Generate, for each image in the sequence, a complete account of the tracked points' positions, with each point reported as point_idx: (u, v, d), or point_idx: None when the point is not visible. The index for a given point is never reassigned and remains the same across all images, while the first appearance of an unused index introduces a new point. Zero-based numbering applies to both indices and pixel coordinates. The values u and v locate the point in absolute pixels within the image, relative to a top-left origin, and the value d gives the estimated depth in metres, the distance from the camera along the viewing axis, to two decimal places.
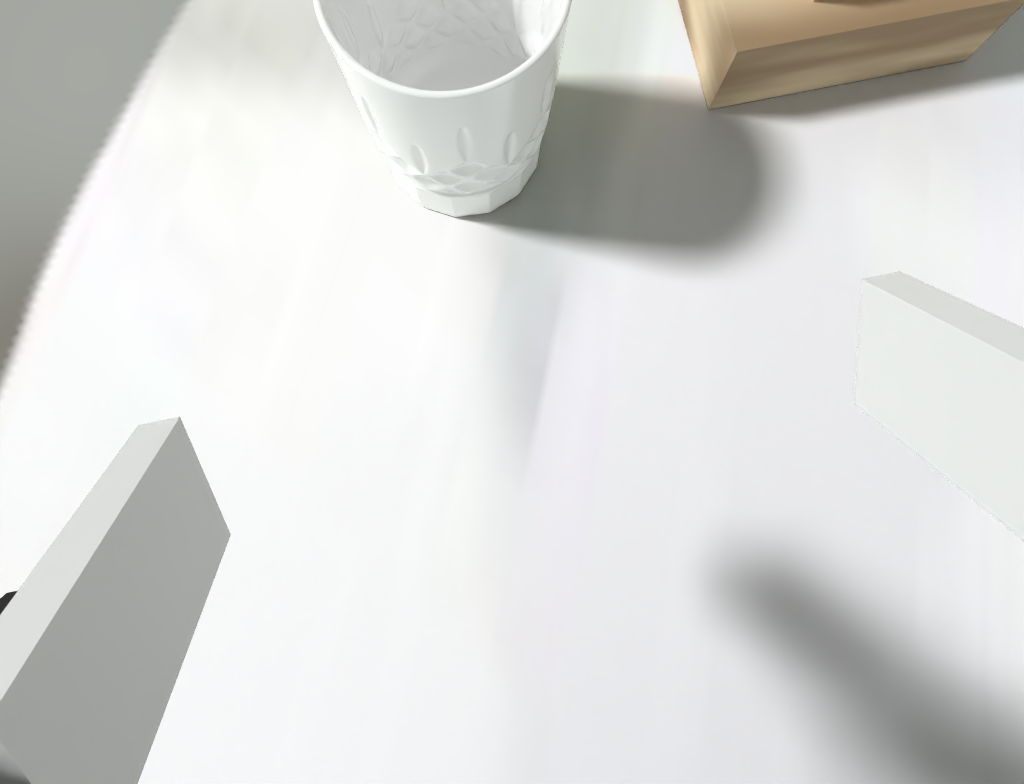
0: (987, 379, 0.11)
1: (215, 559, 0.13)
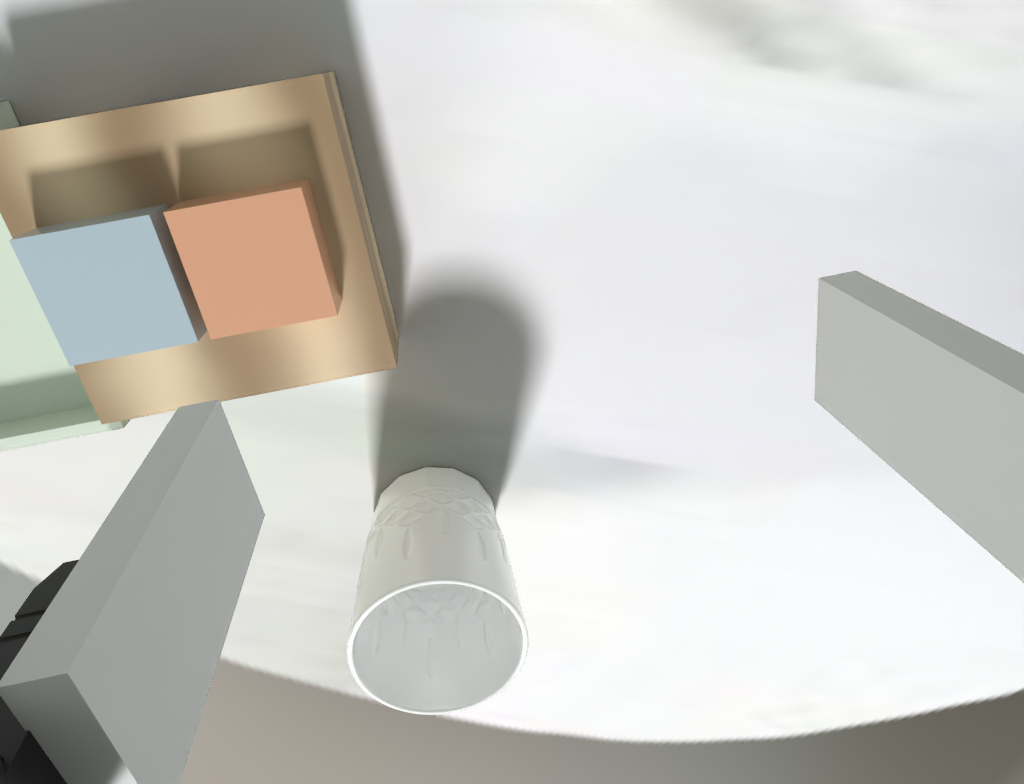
0: (929, 374, 0.11)
1: (252, 537, 0.14)
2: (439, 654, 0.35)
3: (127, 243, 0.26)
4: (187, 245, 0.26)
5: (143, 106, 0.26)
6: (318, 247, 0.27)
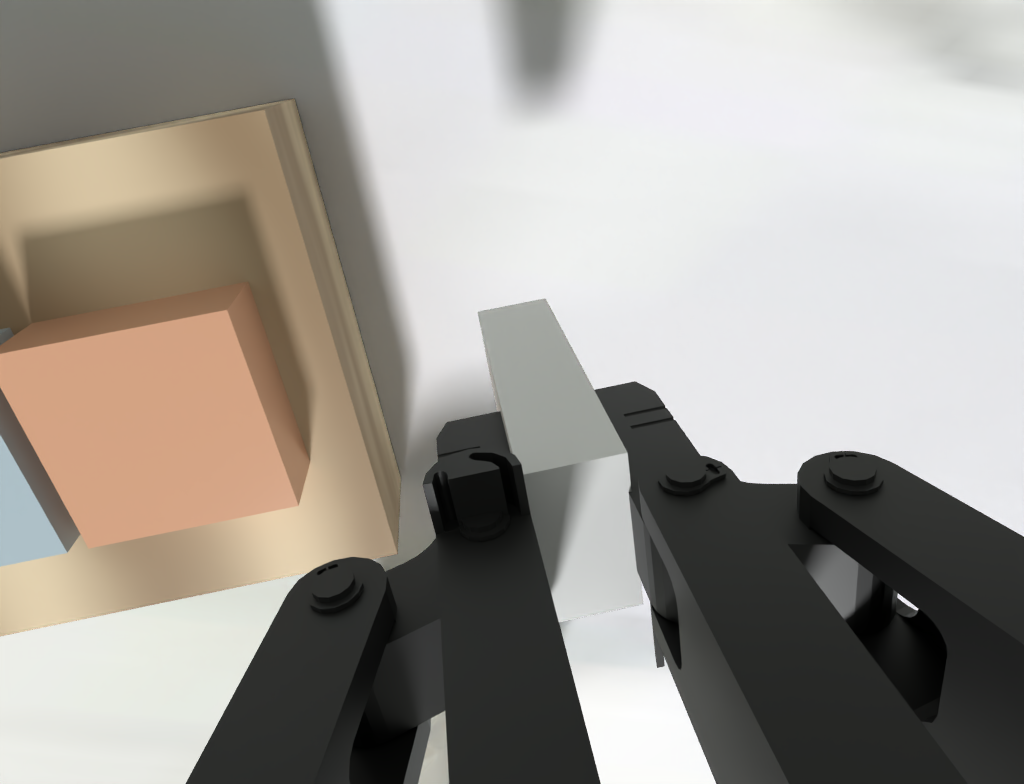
0: None
1: None
2: None
3: None
4: (34, 408, 0.15)
5: None
6: (262, 403, 0.16)
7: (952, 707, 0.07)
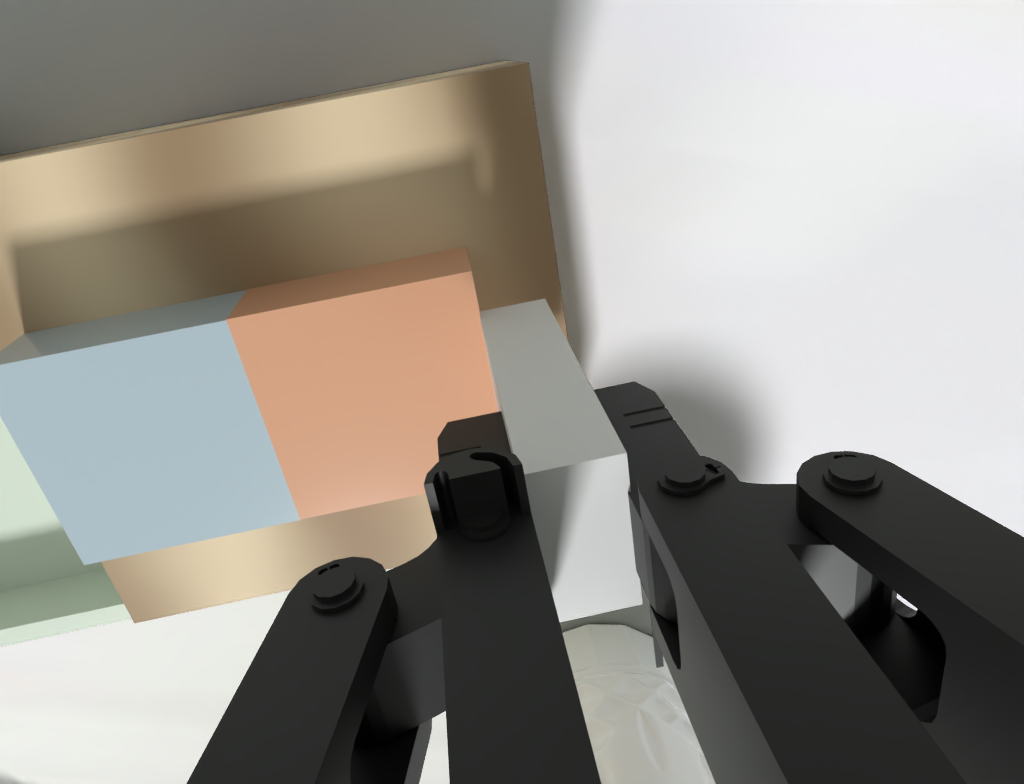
0: None
1: None
2: None
3: (186, 369, 0.14)
4: (268, 372, 0.15)
5: (213, 124, 0.14)
6: None
7: (951, 707, 0.07)
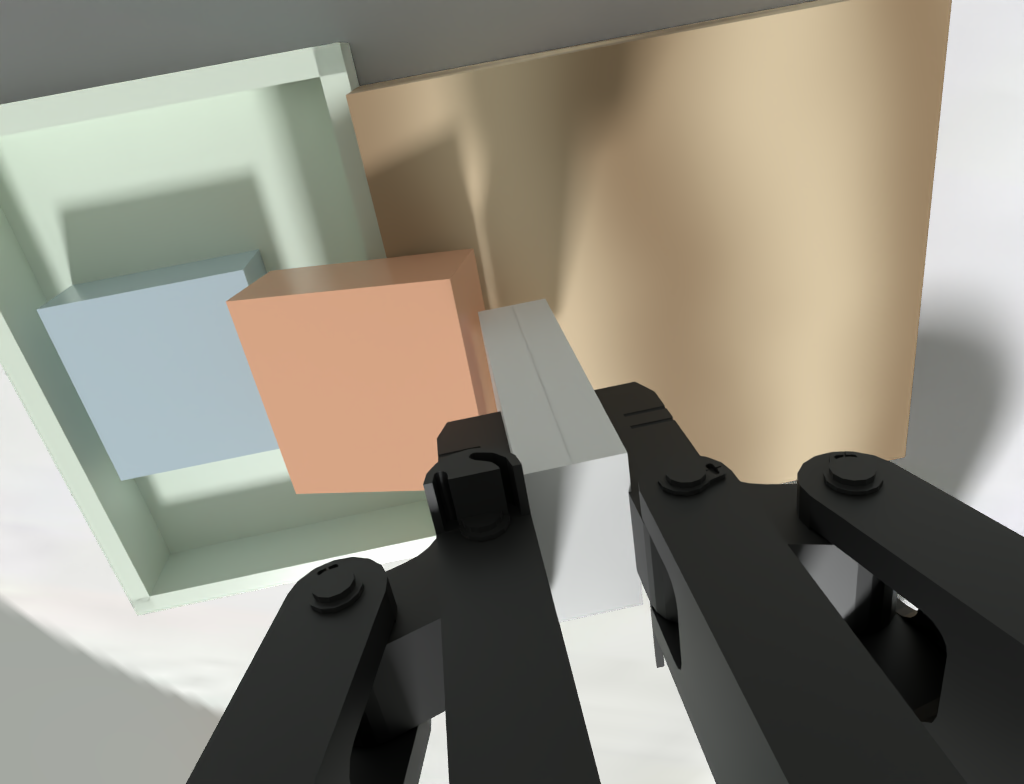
0: None
1: None
2: None
3: None
4: (263, 355, 0.15)
5: (650, 39, 0.15)
6: (472, 379, 0.15)
7: (951, 706, 0.07)
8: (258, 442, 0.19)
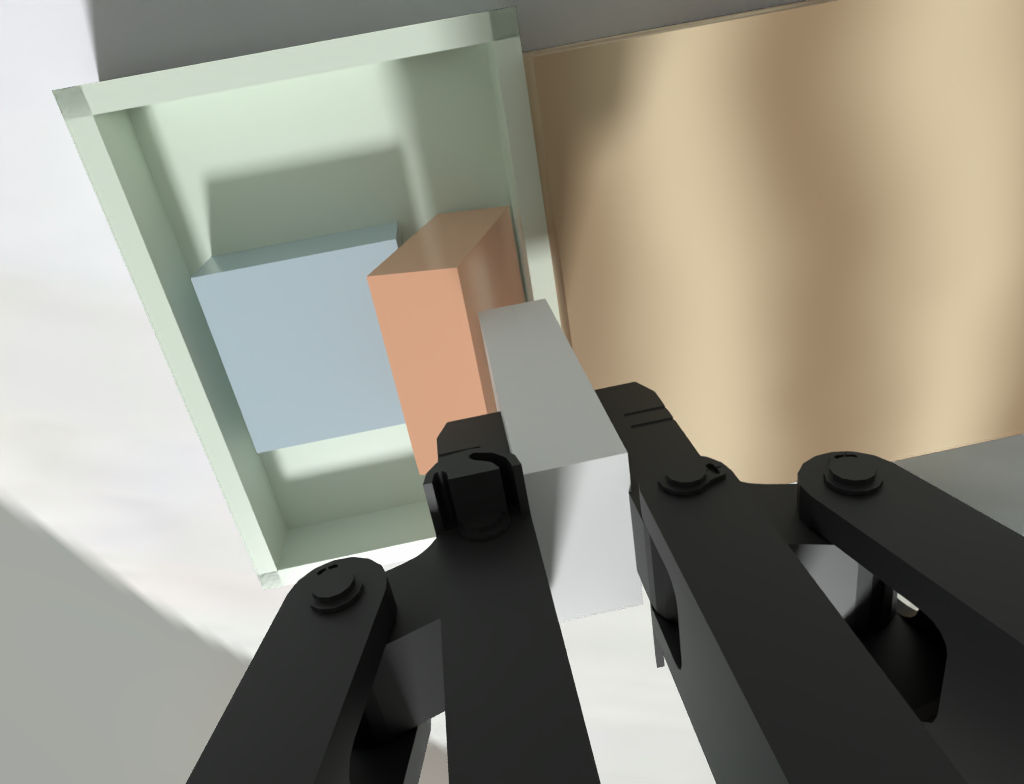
0: None
1: None
2: None
3: None
4: None
5: (834, 3, 0.15)
6: (396, 373, 0.16)
7: (952, 707, 0.07)
8: (395, 415, 0.19)
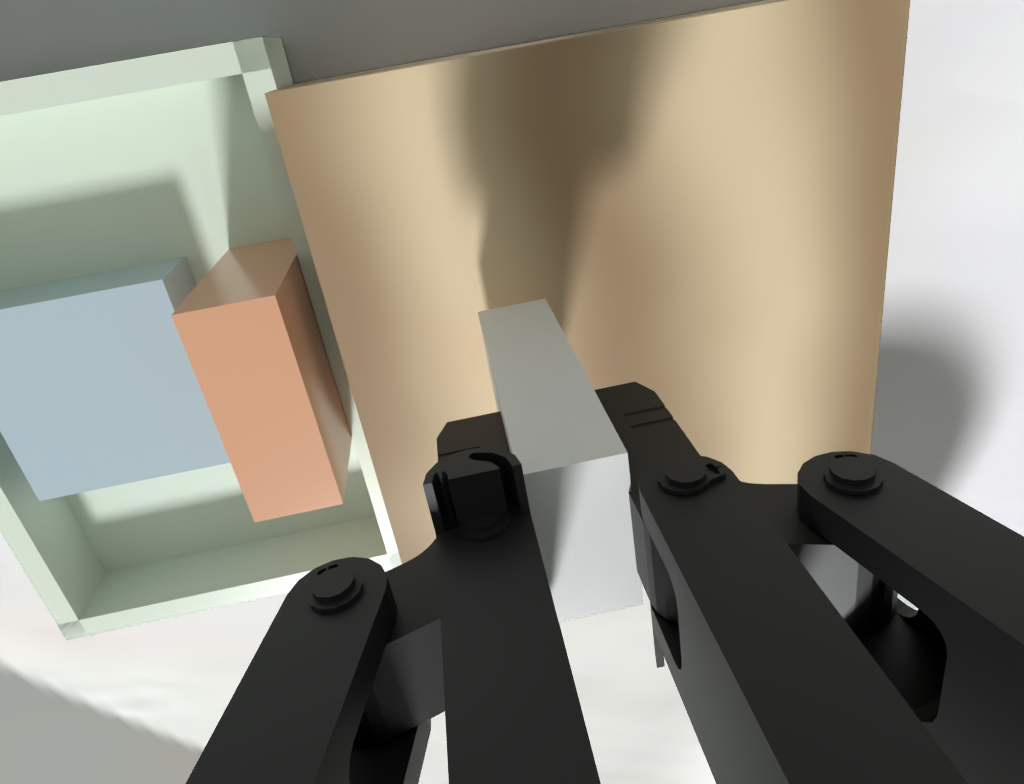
0: None
1: None
2: None
3: None
4: None
5: (592, 37, 0.14)
6: (217, 416, 0.15)
7: (951, 706, 0.07)
8: (186, 460, 0.18)
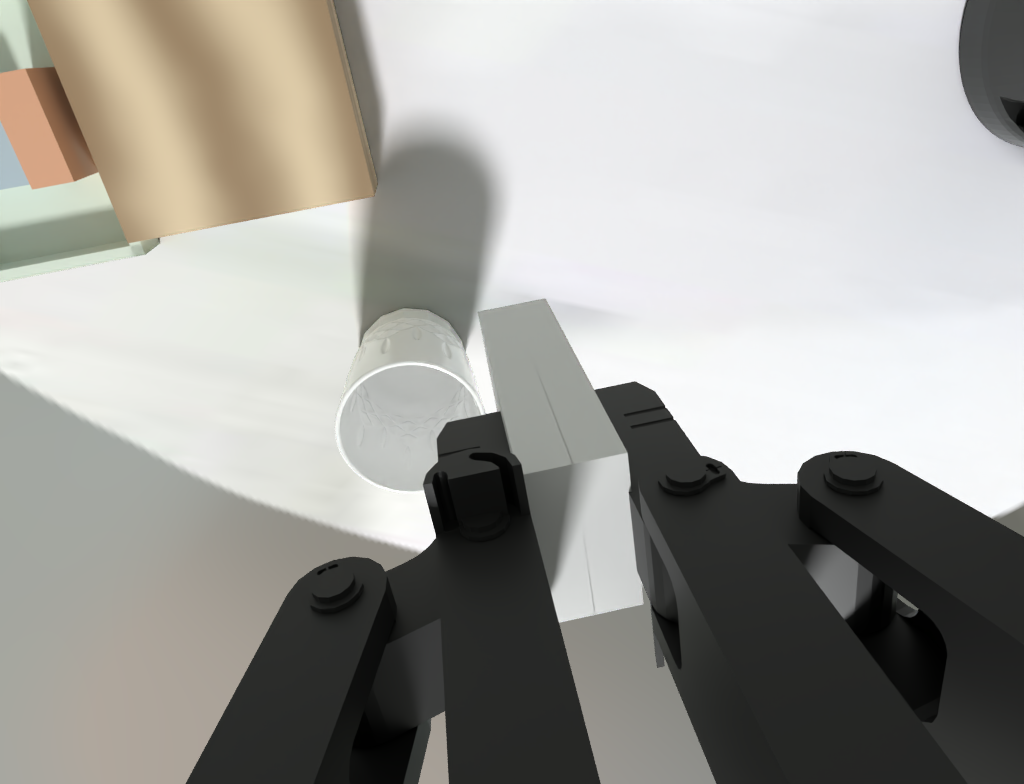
0: None
1: None
2: (415, 455, 0.41)
3: None
4: None
5: None
6: (6, 129, 0.33)
7: (952, 707, 0.07)
8: (13, 180, 0.36)
